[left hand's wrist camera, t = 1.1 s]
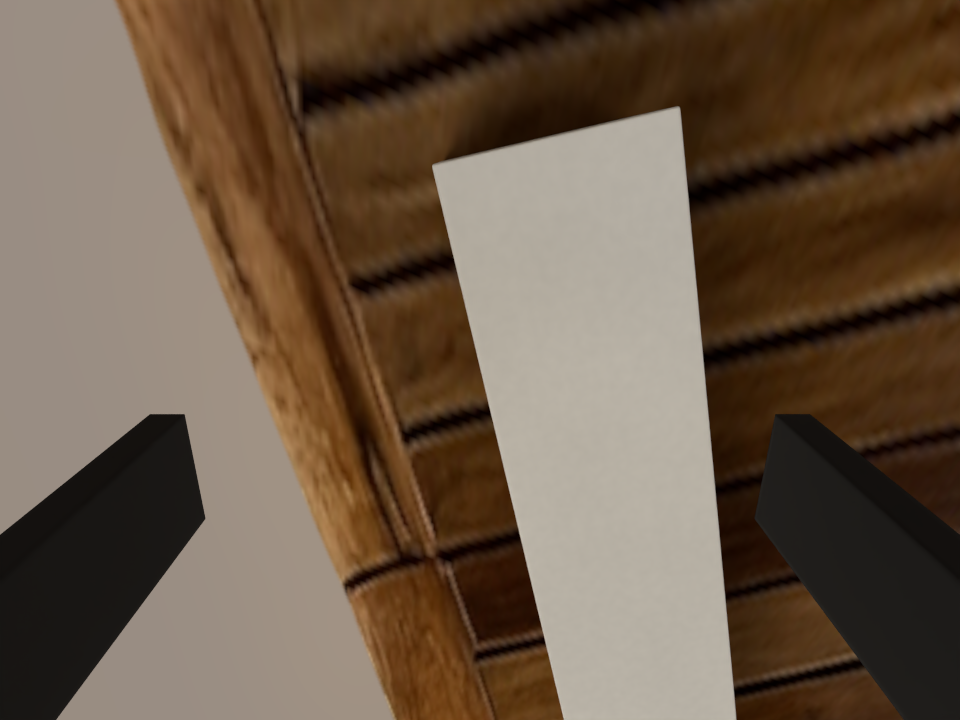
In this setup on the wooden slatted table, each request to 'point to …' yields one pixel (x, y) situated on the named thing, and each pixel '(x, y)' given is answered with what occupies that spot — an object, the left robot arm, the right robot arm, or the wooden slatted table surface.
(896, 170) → the wooden slatted table surface
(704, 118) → the wooden slatted table surface
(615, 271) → the long square beam
